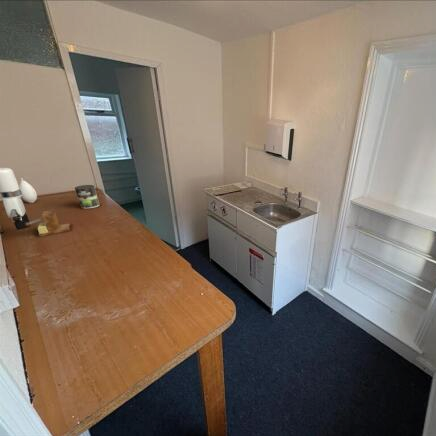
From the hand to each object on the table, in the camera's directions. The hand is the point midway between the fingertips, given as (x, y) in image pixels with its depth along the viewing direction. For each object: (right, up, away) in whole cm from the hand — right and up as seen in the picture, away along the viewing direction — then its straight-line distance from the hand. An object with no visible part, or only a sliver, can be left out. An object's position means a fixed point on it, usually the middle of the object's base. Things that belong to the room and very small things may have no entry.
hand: (23, 225), depth 120 cm
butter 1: (+3, -2, +7) cm, 8 cm away
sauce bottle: (-46, +15, +45) cm, 67 cm away
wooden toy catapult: (+8, -3, +9) cm, 12 cm away
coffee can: (-3, +12, +43) cm, 45 cm away
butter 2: (+6, -4, +4) cm, 8 cm away
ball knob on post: (+5, +1, +4) cm, 6 cm away
